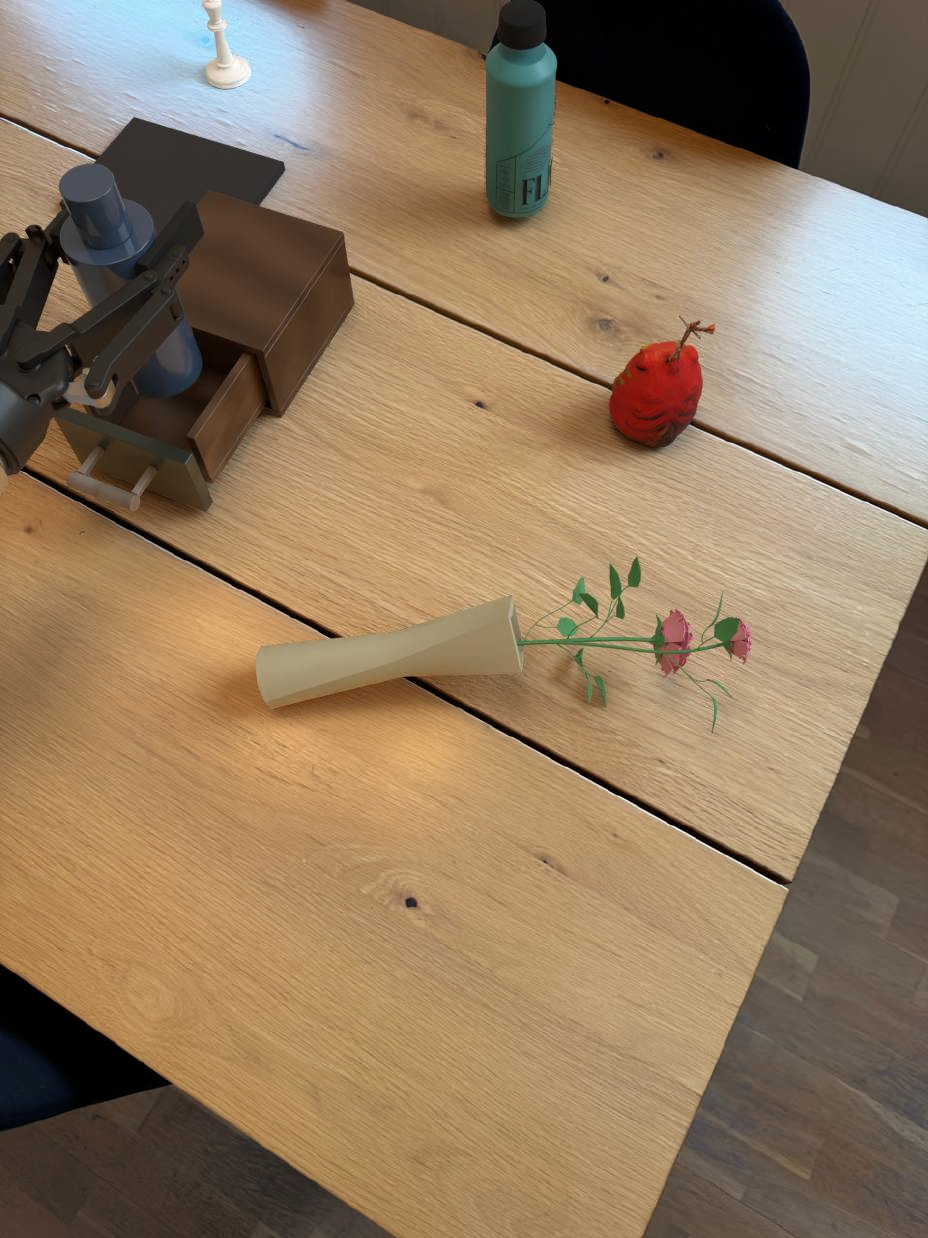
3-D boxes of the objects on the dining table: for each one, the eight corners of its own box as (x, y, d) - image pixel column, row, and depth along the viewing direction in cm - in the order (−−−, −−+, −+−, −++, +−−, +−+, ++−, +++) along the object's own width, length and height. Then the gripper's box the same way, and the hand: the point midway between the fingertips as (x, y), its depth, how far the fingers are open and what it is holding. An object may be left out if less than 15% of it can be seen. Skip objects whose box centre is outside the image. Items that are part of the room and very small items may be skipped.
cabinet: (281, 417, 90) (262, 351, 82) (150, 371, 93) (120, 302, 85) (354, 303, 96) (343, 231, 88) (229, 263, 99) (208, 189, 91)
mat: (62, 210, 102) (58, 202, 101) (136, 124, 108) (133, 116, 107) (217, 261, 99) (215, 253, 98) (285, 169, 105) (284, 161, 104)
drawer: (180, 552, 83) (156, 506, 77) (53, 502, 85) (20, 453, 79) (283, 394, 90) (268, 340, 84) (163, 352, 93) (141, 297, 86)
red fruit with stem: (675, 381, 91) (709, 252, 78) (706, 442, 88) (746, 318, 75) (596, 402, 90) (615, 274, 77) (624, 464, 87) (650, 343, 74)
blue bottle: (108, 383, 82) (16, 200, 65) (150, 327, 84) (72, 138, 68) (176, 408, 80) (100, 228, 64) (217, 350, 83) (154, 163, 67)
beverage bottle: (519, 241, 99) (528, 45, 82) (469, 209, 101) (466, 12, 84) (562, 206, 101) (579, 8, 84) (512, 175, 104) (519, -24, 86)
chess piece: (233, 53, 113) (212, -39, 104) (260, 74, 111) (241, -18, 103) (197, 73, 112) (172, -19, 103) (224, 95, 110) (201, 3, 101)
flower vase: (317, 686, 86) (735, 614, 80) (301, 808, 78) (768, 738, 72) (263, 590, 78) (724, 501, 72) (239, 714, 70) (760, 626, 63)
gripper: (-132, 430, 69) (59, 208, 79) (109, 526, 66) (280, 280, 75) (-197, 355, 63) (20, 122, 72) (67, 457, 59) (260, 197, 68)
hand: (152, 203), depth 73 cm, fingers closed on blue bottle, 6 cm apart
